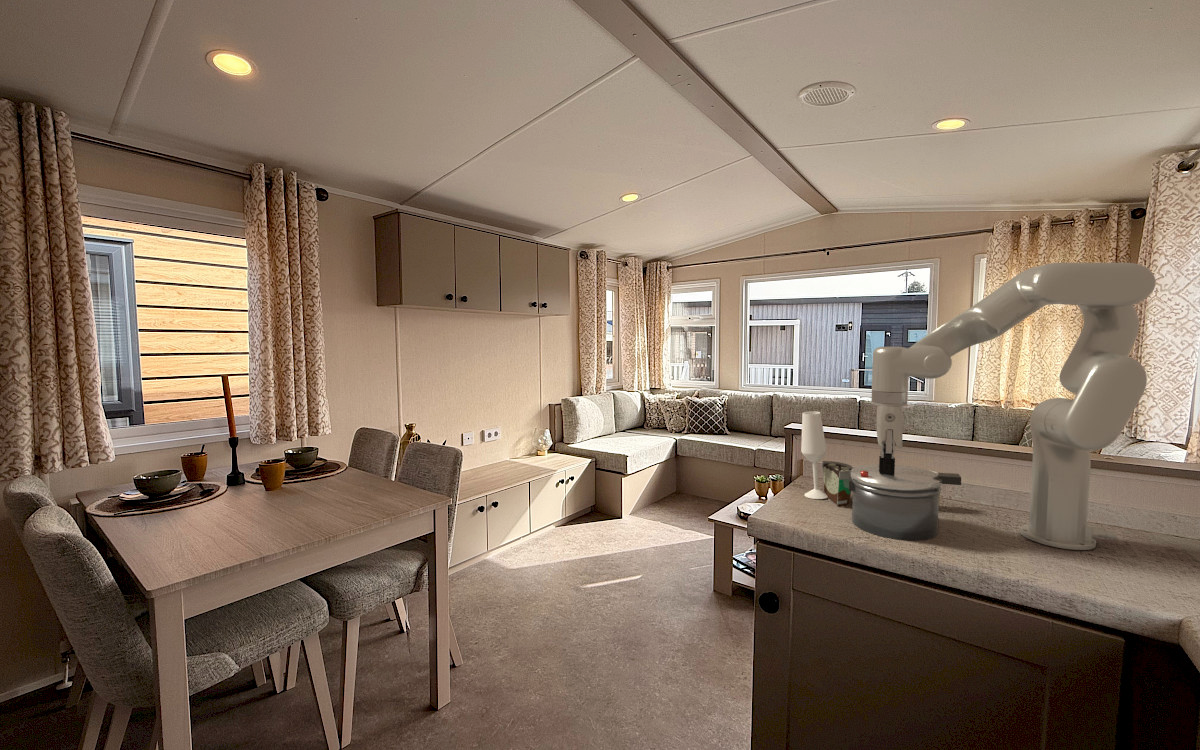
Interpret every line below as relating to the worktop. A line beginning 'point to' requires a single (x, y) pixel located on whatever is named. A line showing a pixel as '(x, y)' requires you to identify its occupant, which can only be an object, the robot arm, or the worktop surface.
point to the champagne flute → (813, 447)
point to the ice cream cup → (837, 482)
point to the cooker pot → (895, 511)
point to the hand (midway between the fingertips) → (886, 473)
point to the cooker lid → (903, 478)
